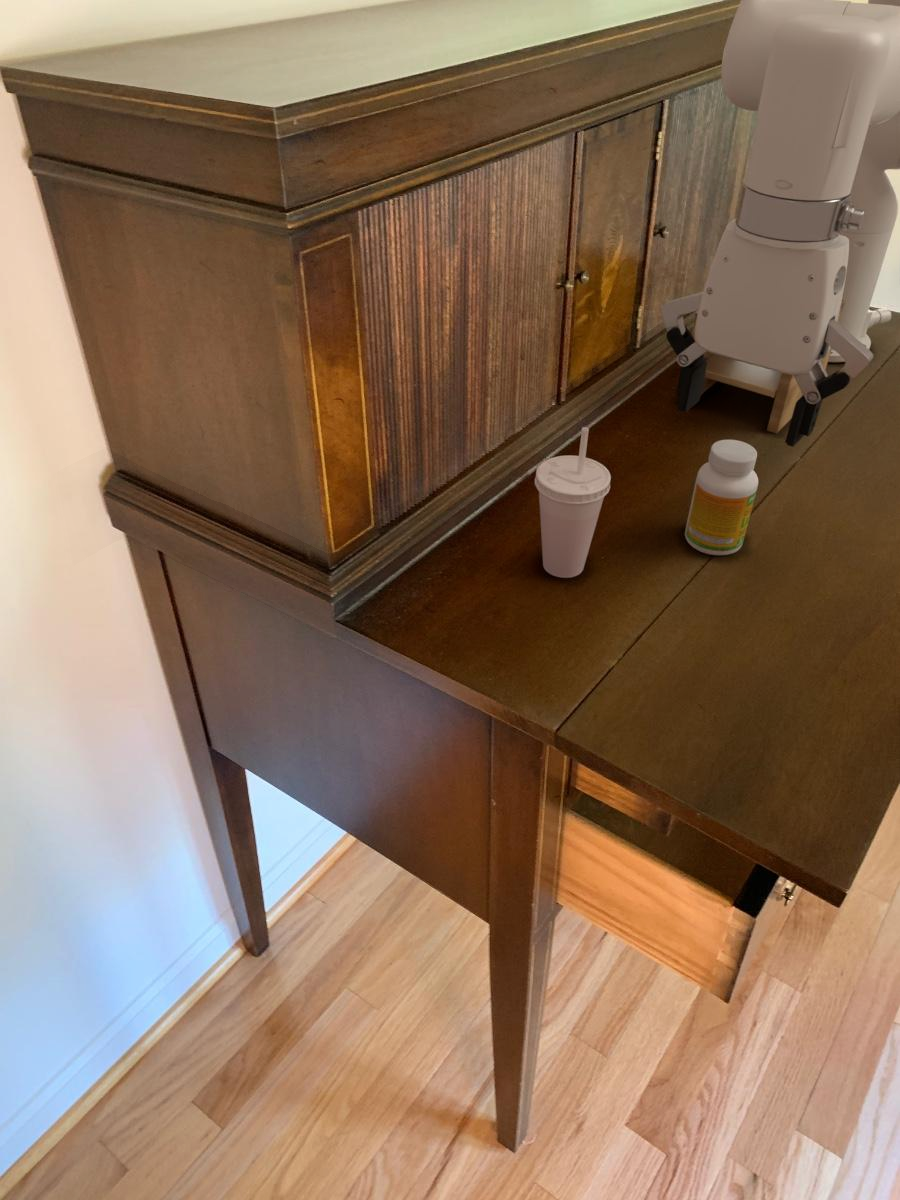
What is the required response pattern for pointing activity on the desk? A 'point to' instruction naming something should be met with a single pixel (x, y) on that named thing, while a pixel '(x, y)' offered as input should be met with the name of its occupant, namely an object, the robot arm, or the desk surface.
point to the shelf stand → (758, 382)
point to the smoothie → (569, 508)
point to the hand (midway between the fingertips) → (740, 422)
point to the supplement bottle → (723, 499)
